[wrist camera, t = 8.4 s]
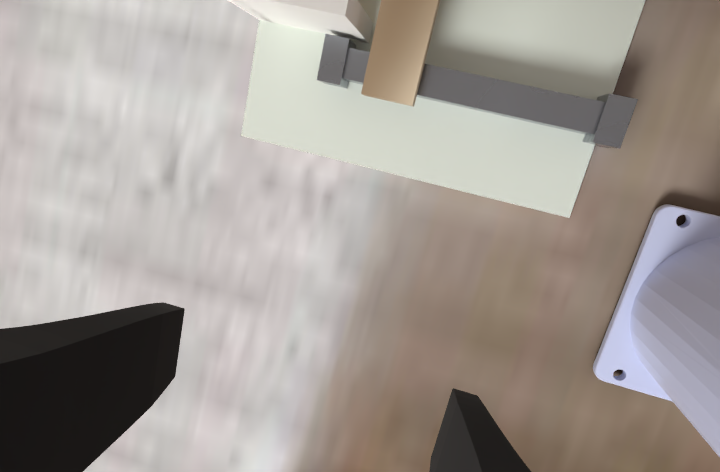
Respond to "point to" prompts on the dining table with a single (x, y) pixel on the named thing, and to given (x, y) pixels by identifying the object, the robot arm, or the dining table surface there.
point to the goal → (314, 15)
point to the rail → (493, 95)
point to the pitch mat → (445, 121)
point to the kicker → (399, 50)
